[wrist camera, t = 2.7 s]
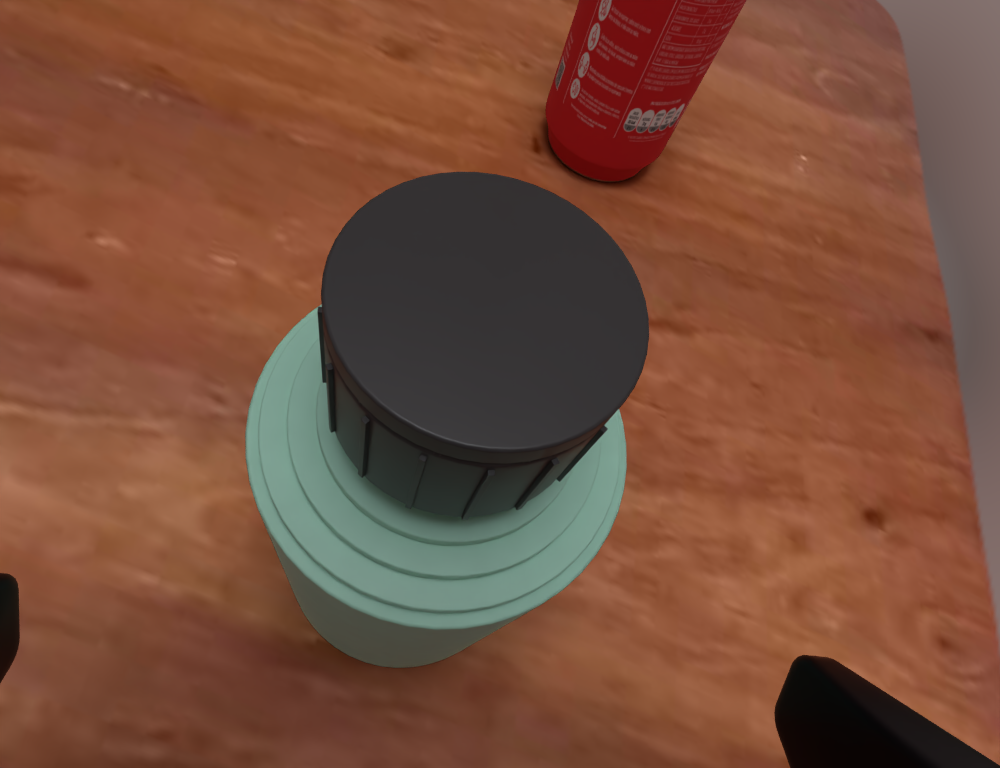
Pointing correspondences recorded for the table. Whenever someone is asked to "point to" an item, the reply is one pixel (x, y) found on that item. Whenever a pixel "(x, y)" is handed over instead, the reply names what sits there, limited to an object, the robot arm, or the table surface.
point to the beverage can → (630, 80)
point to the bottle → (407, 529)
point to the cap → (475, 340)
